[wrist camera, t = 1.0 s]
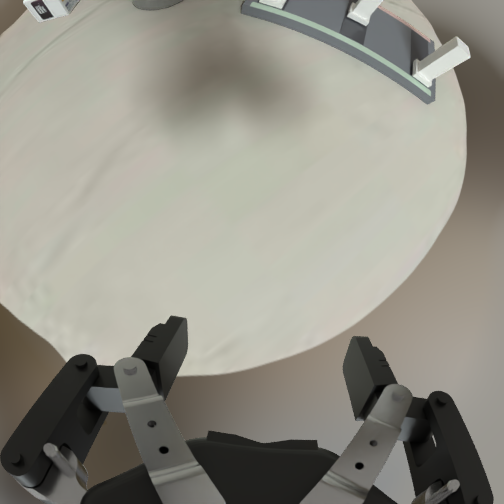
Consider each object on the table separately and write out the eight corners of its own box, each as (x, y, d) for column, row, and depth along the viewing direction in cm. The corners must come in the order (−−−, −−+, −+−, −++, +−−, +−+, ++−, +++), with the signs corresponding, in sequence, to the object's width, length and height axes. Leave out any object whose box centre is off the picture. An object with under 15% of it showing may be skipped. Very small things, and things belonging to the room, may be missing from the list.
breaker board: (427, 104, 31) (482, 77, 19) (240, 13, 27) (253, -52, 14) (428, 46, 31) (468, 17, 18) (274, -31, 26) (290, -80, 14)
